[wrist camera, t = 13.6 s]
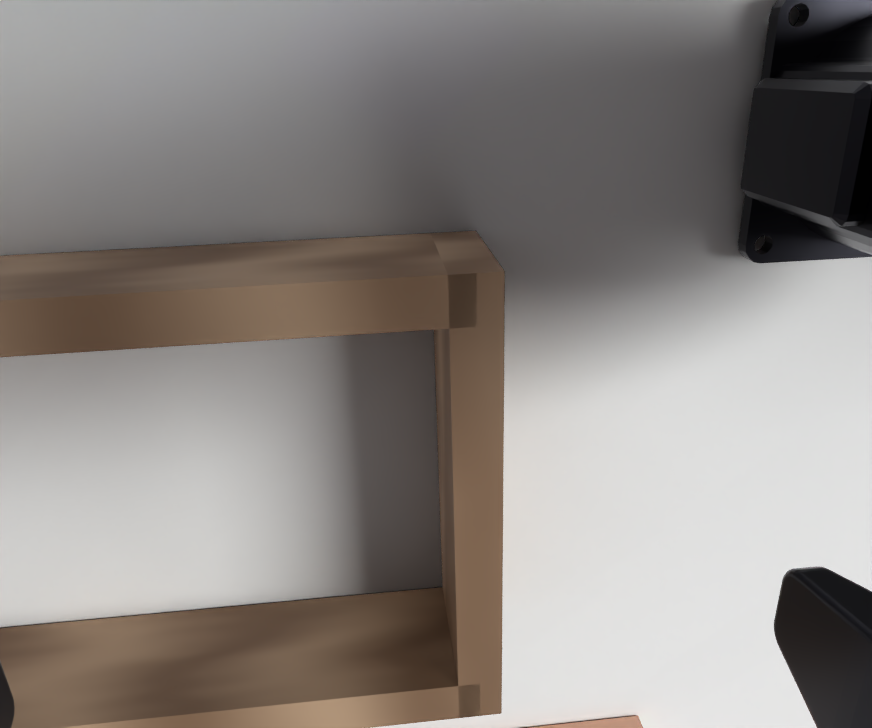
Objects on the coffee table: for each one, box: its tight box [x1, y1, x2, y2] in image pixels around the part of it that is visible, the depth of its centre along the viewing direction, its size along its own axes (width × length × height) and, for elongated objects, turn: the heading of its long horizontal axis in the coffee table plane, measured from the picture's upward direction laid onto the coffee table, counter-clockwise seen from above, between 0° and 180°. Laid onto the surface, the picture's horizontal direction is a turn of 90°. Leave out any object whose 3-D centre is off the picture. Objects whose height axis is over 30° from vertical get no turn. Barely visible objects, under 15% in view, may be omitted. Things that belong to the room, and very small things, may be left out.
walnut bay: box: [0, 231, 505, 728], centre depth 19 cm, size 17×13×4 cm
